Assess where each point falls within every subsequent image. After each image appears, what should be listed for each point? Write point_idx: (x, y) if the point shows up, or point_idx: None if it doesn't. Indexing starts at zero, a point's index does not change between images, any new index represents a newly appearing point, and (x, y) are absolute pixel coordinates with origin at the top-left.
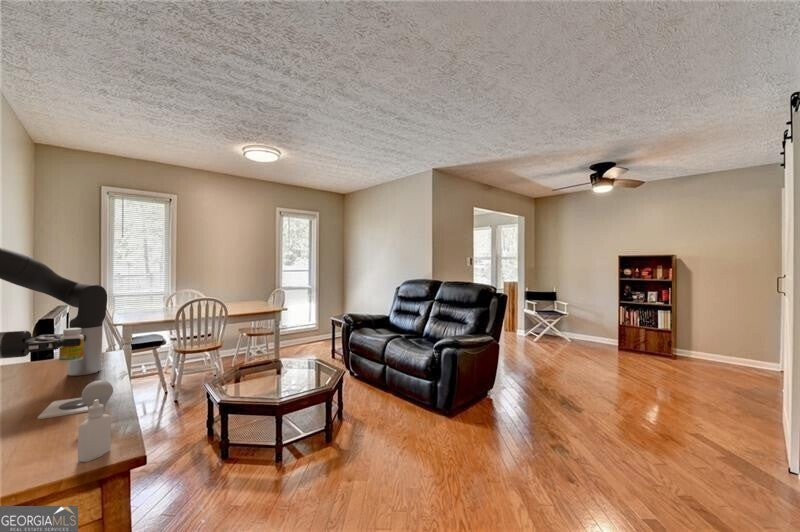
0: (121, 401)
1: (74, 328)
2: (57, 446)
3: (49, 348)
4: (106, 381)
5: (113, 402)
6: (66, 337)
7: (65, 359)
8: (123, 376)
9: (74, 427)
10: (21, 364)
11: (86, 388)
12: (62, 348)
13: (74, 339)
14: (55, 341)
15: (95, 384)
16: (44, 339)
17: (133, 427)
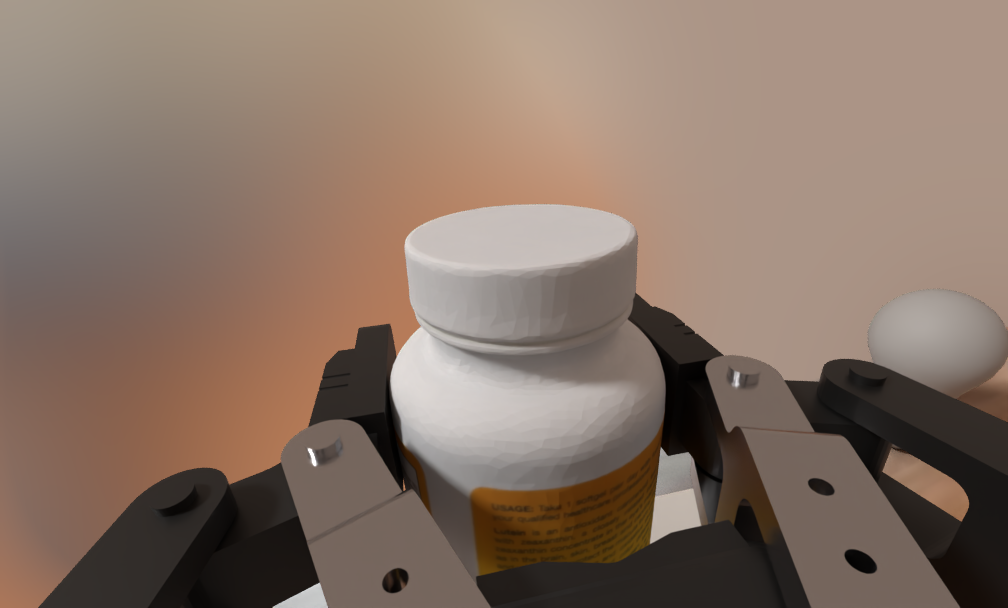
0: (663, 454)
1: (485, 226)
2: None
3: (929, 502)
4: (914, 291)
5: (676, 475)
6: (641, 346)
7: None
8: None
9: (964, 493)
10: None
11: (1003, 324)
12: (652, 506)
13: (650, 314)
14: (886, 372)
15: (975, 298)
16: (910, 577)
17: (871, 362)
